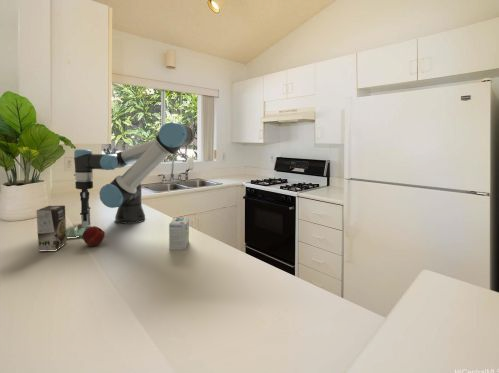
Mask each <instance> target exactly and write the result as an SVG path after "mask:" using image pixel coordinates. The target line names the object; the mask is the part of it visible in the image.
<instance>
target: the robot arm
mask: <svg viewBox="0 0 499 373" xmlns="http://www.w3.org/2000/svg"><path fill="white" fill-rule="evenodd" d="M193 133H194V132H193V131H192V128H190V127H189V126H188V125H187V124H184V123H182V122H179V121H176V120H175V121H168V122H166V123H165V122H164V124H163V125H161V127H160V128H159V130H158V134H157V135H156V136H155V138H154V139H151V140H148V141H145V142H143V143H141V144H137V145H134V146H132V147H130V148H128V149H123V150H122V151H119V152H116V153H105V154H104V153H93V151H92V149H81V148H79V149H78V148H77V149H75V150H74V153H73V154H74V156H73V162H74V174H73V177H75V178H74V180H75V189H76V190H81V191H80V193H79V197H80V202H81V203H80V204H81V208H80V210H81V211H80V213H79V215H80V216H81V215H82V219H81V228H85V226H86V225H89V223H88V209H90V210H91V206H90V204H89V201H90V191H89V190H91V189H93V188H94V181H93V179H94V173H93V170H103V171H110V170H111V171H113V170H116V169H122V168H125V167H126V166H128V165H130V164H132V165H131V166H130V167H129V168H128V169H127V170H126V171H125V172H124V173H123V175H117V176H116V177H115V178H114V179H113V180H111V181H110V183H107V184H105V185H103V186H102V187H101V188H100V189H99V190H100V191H99V193H98V194H99V199H100V201H101V203H102V204H103V205H104V206H105V207H107V208H110V209H113V208H114V209H115V208H117V210H116V214H115V216H114V221H115V222H116V223H118V224H136V223H140V222H144V221H145V220H146V214H145V212H144V209H143V206H142V186H143V185H142V182H143V181H145V179H146V178H147V177H149V175H150V174H151V173H153V171H155V169H157V168H158V166H159V165H161V163H163V161H165V160H166V159H167V157H168V156H170V155H171V156H172V155H173V156H174V155H175V154H176V153H177V152H178V151H180V149H182V148H186V147H188V146H189V145H190V144H192V141H193V140H194V139H193V138H194V134H193ZM83 211H84V212H83Z"/></svg>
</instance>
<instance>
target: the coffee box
mask: <svg viewBox="0 0 499 373" xmlns="http://www.w3.org/2000/svg"><path fill="white" fill-rule="evenodd" d="M35 211H36V222H37V225H36V226H37V244H38V245H37V246H38V251H39V250H56V249H58V248H59V247H61V246H62V245H63V244H65V243H66V242H68V241H67V240H68V239H67V237H66V229H67V223H66V222H67V220H66V205H47V206H44V207H42V208H39V209H37V210H35Z"/></svg>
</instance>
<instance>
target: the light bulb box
mask: <svg viewBox="0 0 499 373" xmlns="http://www.w3.org/2000/svg"><path fill="white" fill-rule="evenodd" d="M168 234H169V236H168V246H169V247H168V249H169V250H172V251H173V250H175V251H176V250H177V251H181V250H182V251H184V250H186V249H187V247H188V244H189V241H190V240H189V238H190V218H189V217H173V218H172V220H171V222H170V223H169V226H168Z"/></svg>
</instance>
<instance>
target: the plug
mask: <svg viewBox="0 0 499 373" xmlns="http://www.w3.org/2000/svg"><path fill="white" fill-rule="evenodd" d="M83 212H84V211H83ZM80 216H81V217H80V219H81V220H82V215H80ZM88 223H89V225H91V208H90V209H88Z"/></svg>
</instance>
